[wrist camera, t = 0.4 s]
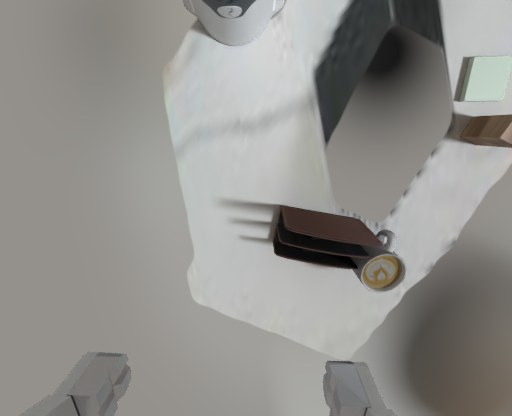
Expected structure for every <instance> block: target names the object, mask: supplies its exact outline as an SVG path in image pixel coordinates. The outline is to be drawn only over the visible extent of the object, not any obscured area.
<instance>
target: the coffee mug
mask: <svg viewBox="0 0 512 416" xmlns="http://www.w3.org/2000/svg"><path fill="white" fill-rule="evenodd" d="M385 236H387V243H386V244H384V238H385ZM376 237H377V238H378V239H379V240H380V241H381V242H382V244H383V246H368V245H361V246H362V247H363V248H364V250H365V251H366V252H367V253H368V254H369V256H370V257H369V258H359V257H350V256H349V257H350V258H351V259H352V260H353V262H354V263H355V264H356V265H357V266H358V269H353V271H354V272H355V274H356V275H357V277H358V278H359V280H360V281H361V282H362V284H363V285H364V286H365V287H366V288H367V289H368V290H370V291H372V292H376V293H384V292H388V291H391V290H393V289H395V288H396V287H398V286H399V285H400V284H401V283H402V281H403V280H404V278H405V276H406V265H405V263H404V261H403V260H402V259H401V258H400V257H399V256H398V255H396V254H395V253H394V252H393V250H394V248H395V246H396V244H397V237H396V236H395V234H394V233H392V232H391V231H389V230H381V231H379V232H378V234H377V235H376Z"/></svg>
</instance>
